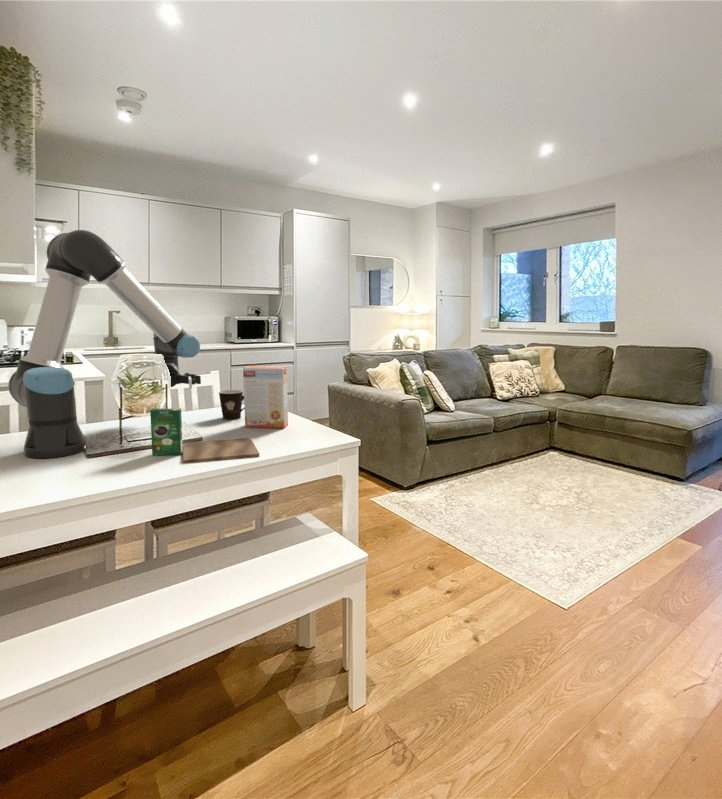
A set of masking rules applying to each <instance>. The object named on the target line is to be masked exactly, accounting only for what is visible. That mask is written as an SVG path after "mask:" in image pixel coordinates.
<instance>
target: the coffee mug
mask: <svg viewBox="0 0 722 799" xmlns="http://www.w3.org/2000/svg"><path fill="white" fill-rule="evenodd" d="M218 394H219V396H218V397H219V400H220V402H219V403H220V408H221V413H222V419H223V420H224V421H225V420H226V421H234V420H235V421H236V420H239V419H241V418H242V416H241V415H242V411H245V408H244V407H242V406H243V402H244V390H241V389H226V390H225V389H224V390H220V391H218Z"/></svg>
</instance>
